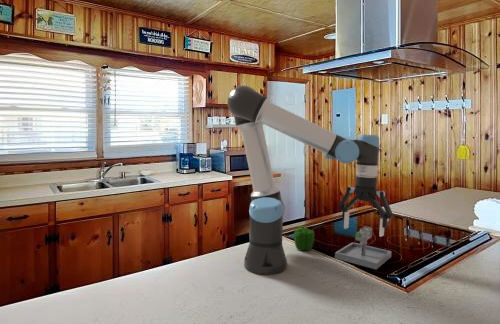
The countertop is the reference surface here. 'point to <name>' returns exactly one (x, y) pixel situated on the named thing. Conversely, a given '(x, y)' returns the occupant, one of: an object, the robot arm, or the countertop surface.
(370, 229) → the mechanical component
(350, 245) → the tray
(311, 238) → the bell pepper
